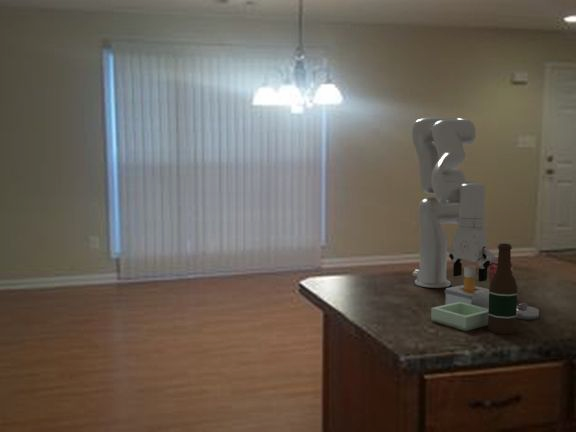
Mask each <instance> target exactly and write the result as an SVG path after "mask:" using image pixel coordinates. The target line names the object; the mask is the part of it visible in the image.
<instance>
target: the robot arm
mask: <svg viewBox="0 0 576 432" xmlns="http://www.w3.org/2000/svg"><path fill="white" fill-rule="evenodd" d="M411 131H412V132H411V136H412V143H413V146H414V149H415V151H416V154H417V157H418V170H419V181H420V183H419V184H420V188H421V192H423V193H424V194H428V195H434V197H433V196H430V197H426V198H423V199H421V200H420V202H419V203H418V206H417V211H418V212H417V214H418V218H419V219H418V221H419V234H420V235H419V269H415V270H414V271H413V272H412V276H416V279H415V280H414V284H415V285H416V286H418V287H422V288H431V289H442V288H449V287H451V281H450V280H448V279H447V263H448V261H447V260H448V259H447V258H448V257H449V258H450V260H451V264H453V268H452V269H453V271H452V272H453V273H452V275H453V277H460V276H462V273H463V271H462V270H463V268H462V267H463V265H462V261H467V262H474V263H477V264H478V266H479V267H480V268H478V277H477V278H478V282H480V283H481V282H486V281H487V278H488V269H490V265H491V264H492V263H493V260H495V258H496V255H495V254H494V253H493V252H492V251H490V250H489V249H488V236H487V230H486V228H485V211H486V209H485V208H486V207H485V206H486V186H485V185H484V184H483V183H480V182H479V183H478V182H476V181H475V180H466V177H465V176H466V175H465V173H464V171H462V169H460V168H458V166H459V165H461V164H462V163H463V162H464V160H465V159H466V152H465V149H464V146H463V145H471V144H472V143H473V142H474V141H475V139H476V135H477V132H476V126H475V124H474V123H473V122H472V121H471V120H470V119H466V118H462V117H437V116H436V117H423V118H420V119H417V120H416V121H414V123H413V125H412V130H411ZM451 224H455V225H457V224H458V226H456V228H455V232H454V236H453V242H452V243H453V244H452V245H451V246H449V247H448V236H447V233H446V231H445V230H444V228H443V227H442V226H441V225H451ZM448 255H449V256H448Z"/></svg>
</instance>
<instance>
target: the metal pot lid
mask: <svg viewBox="0 0 576 432" xmlns="http://www.w3.org/2000/svg"><path fill="white" fill-rule="evenodd" d="M539 315H540V310H539V309H538V308H537V307H534V306H530V305H528V303H526V302H519V303H518V305H517V310H516V320H527V321H532V320H536V319H537V320H538V319H539Z"/></svg>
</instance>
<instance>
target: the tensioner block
mask: <svg viewBox="0 0 576 432" xmlns="http://www.w3.org/2000/svg"><path fill="white" fill-rule="evenodd" d="M444 294H445V302H444V303H445V304H444V305H447V304H451V303H456V302H463V303H467V304H471V305H475V306H479V307H483V308H487V309H489V288H485V287H481V286H477V285H475V291H471V292H470V291H466V290H464V284H462V285H455V286H452V287H451V286H449V287H445V290H444Z"/></svg>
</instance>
